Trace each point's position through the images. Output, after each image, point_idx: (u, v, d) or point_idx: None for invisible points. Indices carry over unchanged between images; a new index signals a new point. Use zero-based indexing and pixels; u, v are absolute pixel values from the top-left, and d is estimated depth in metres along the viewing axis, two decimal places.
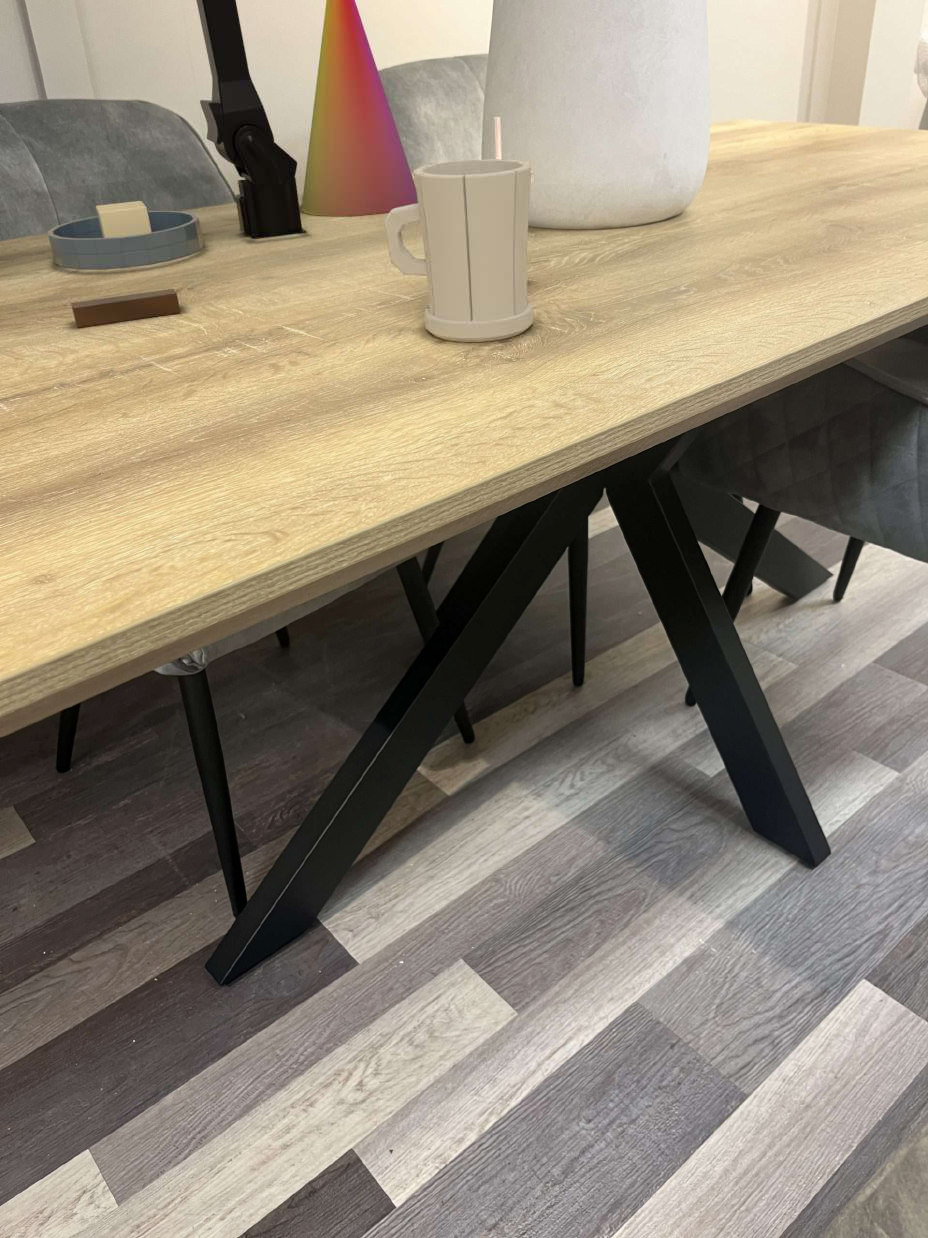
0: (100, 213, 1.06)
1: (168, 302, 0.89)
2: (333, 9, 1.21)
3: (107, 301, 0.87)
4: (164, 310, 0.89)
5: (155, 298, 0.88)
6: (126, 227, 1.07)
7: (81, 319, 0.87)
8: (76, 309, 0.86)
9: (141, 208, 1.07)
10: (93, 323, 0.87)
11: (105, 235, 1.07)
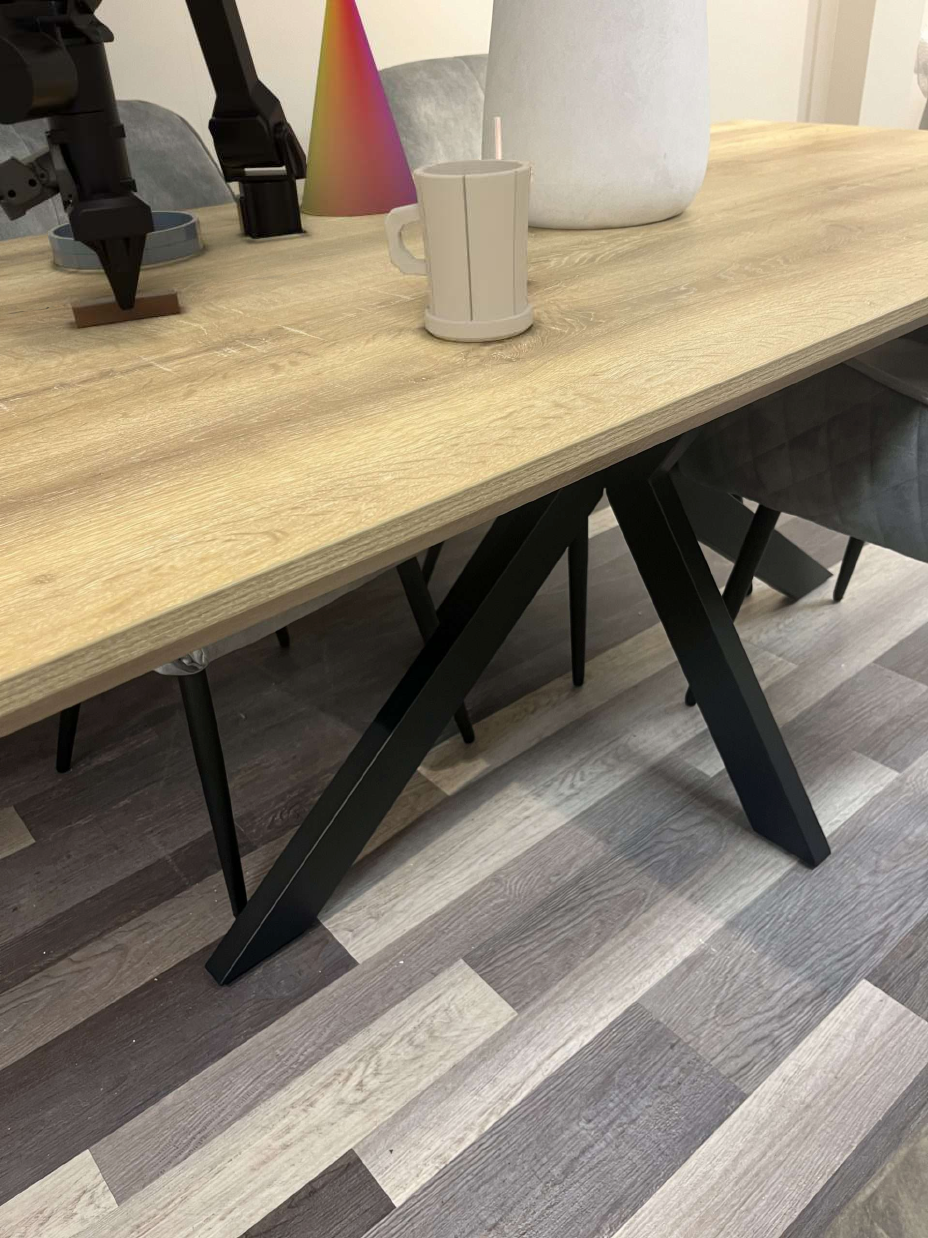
0: None
1: (168, 302, 0.89)
2: (333, 9, 1.21)
3: (107, 301, 0.87)
4: (164, 310, 0.89)
5: (155, 298, 0.88)
6: None
7: (81, 319, 0.87)
8: (76, 309, 0.86)
9: None
10: (93, 323, 0.87)
11: None
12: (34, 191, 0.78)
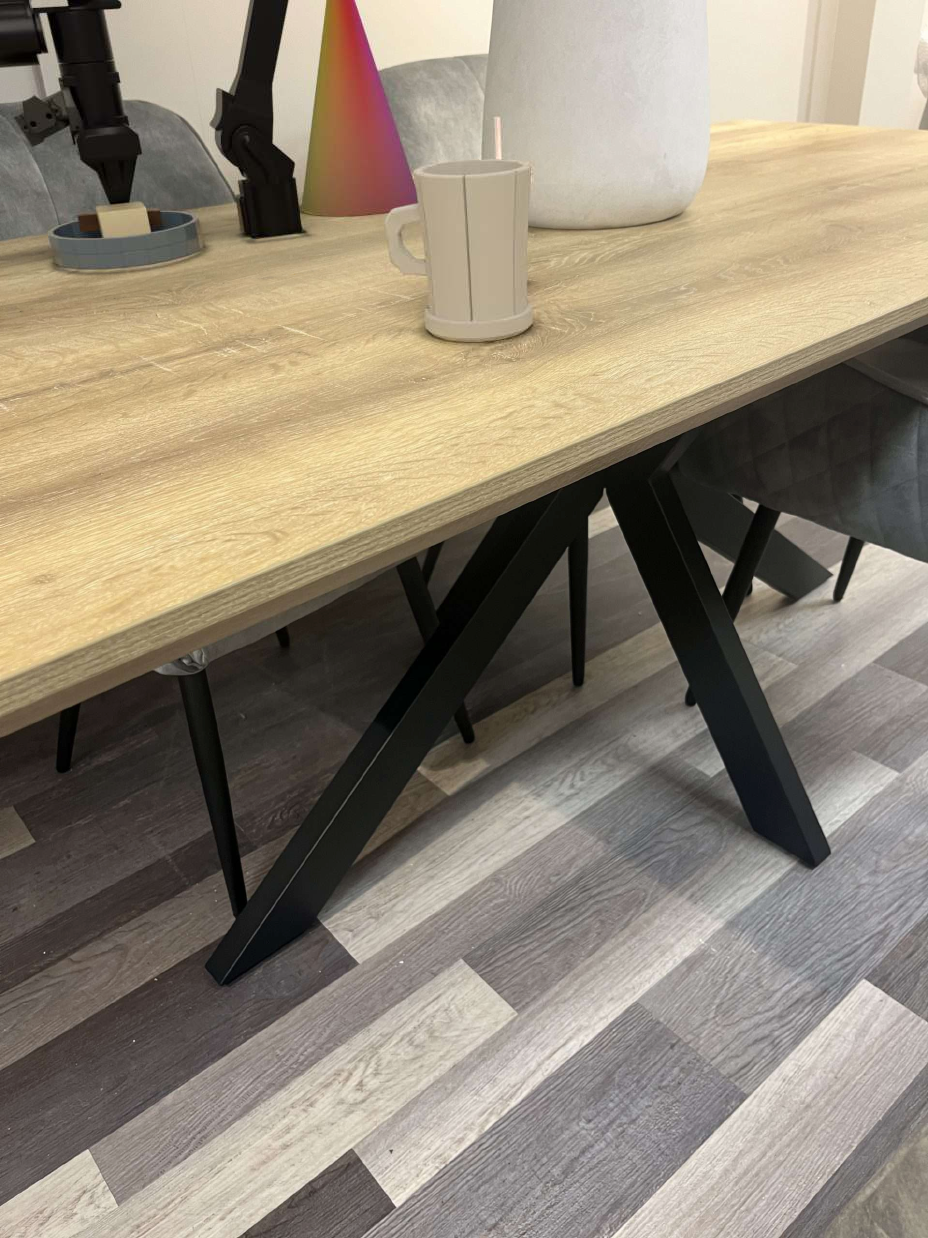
0: (99, 214, 1.06)
1: (153, 217, 1.13)
2: (332, 9, 1.21)
3: None
4: (149, 223, 1.13)
5: None
6: (126, 228, 1.07)
7: (84, 225, 1.11)
8: (80, 216, 1.11)
9: (141, 209, 1.07)
10: (93, 229, 1.12)
11: (104, 236, 1.07)
12: (50, 122, 1.02)
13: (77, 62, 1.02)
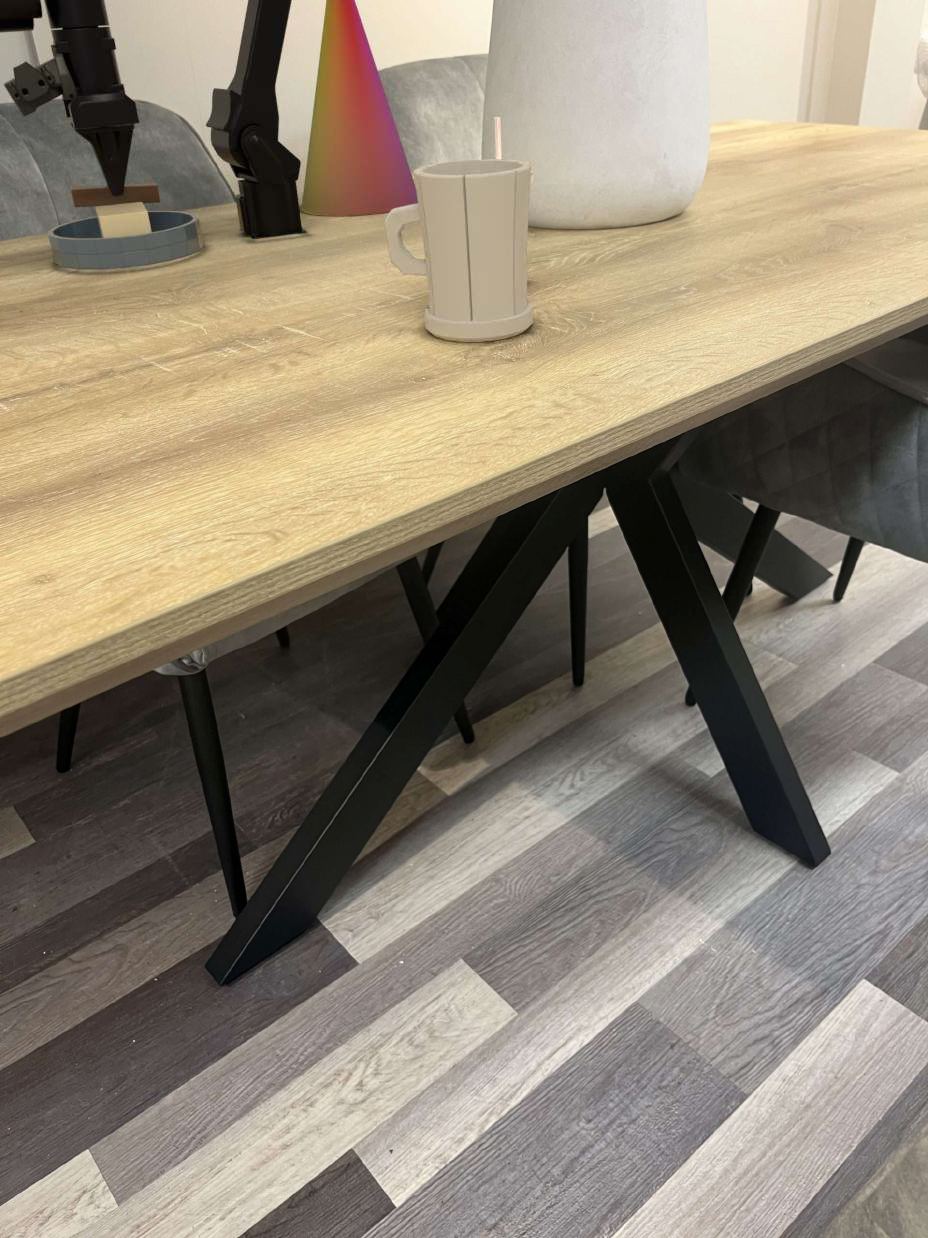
0: (100, 217, 1.04)
1: (150, 192, 1.09)
2: (332, 9, 1.21)
3: (100, 187, 1.07)
4: (147, 199, 1.09)
5: (139, 187, 1.08)
6: (127, 232, 1.05)
7: (78, 200, 1.06)
8: (74, 191, 1.06)
9: (142, 212, 1.05)
10: (88, 204, 1.07)
11: None
12: (43, 90, 0.98)
13: (71, 27, 0.98)
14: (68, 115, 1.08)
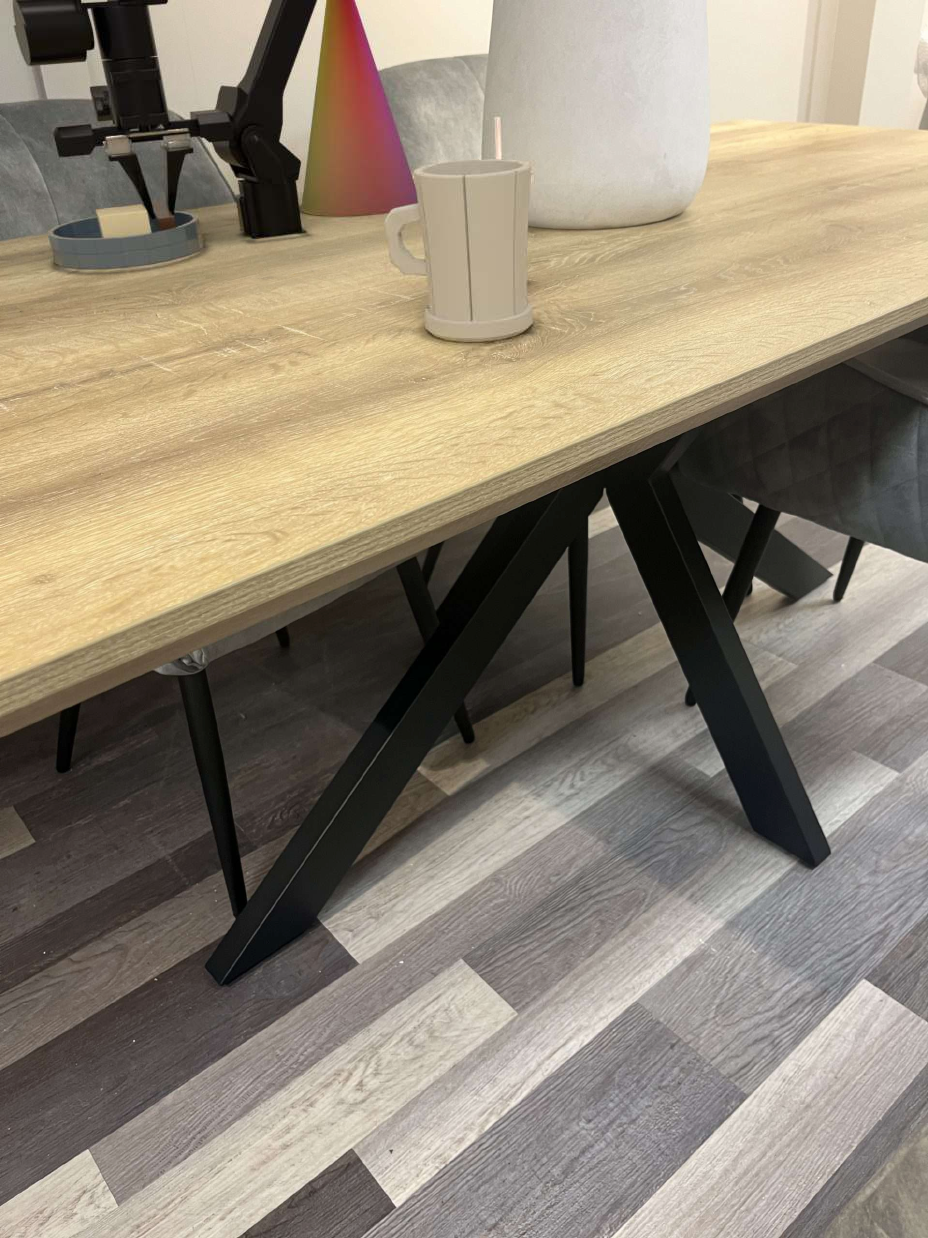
0: (100, 217, 1.04)
1: (158, 224, 1.08)
2: (332, 9, 1.21)
3: (153, 207, 1.12)
4: (158, 229, 1.09)
5: (155, 217, 1.09)
6: (126, 231, 1.05)
7: None
8: None
9: (142, 212, 1.05)
10: (151, 219, 1.14)
11: None
12: (96, 112, 1.09)
13: None
14: (198, 135, 1.12)
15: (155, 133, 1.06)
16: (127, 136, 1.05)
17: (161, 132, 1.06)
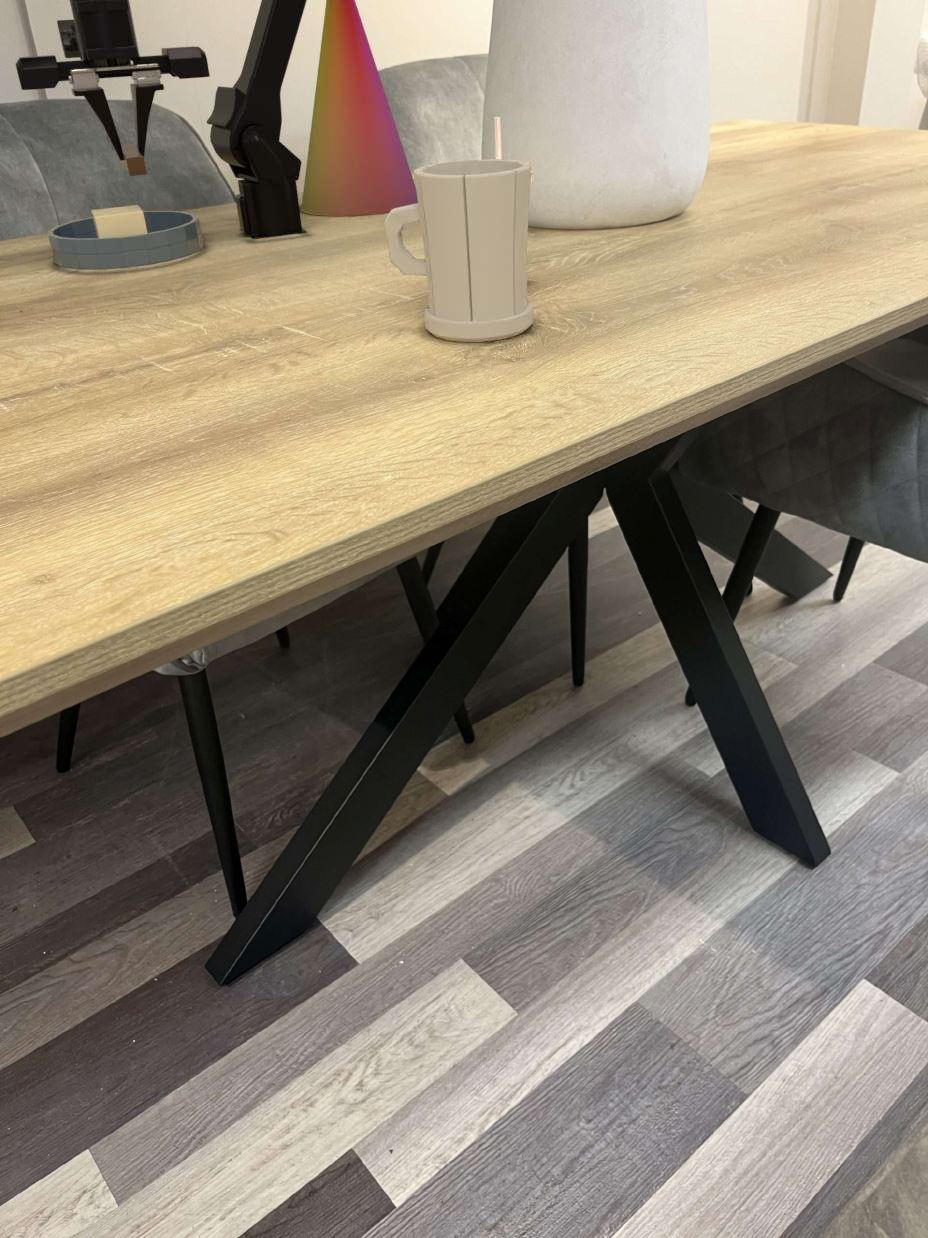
0: (96, 218, 1.04)
1: (126, 164, 1.04)
2: (332, 9, 1.21)
3: (123, 148, 1.08)
4: (127, 169, 1.05)
5: (124, 156, 1.05)
6: (122, 232, 1.05)
7: None
8: None
9: (138, 212, 1.05)
10: (121, 162, 1.10)
11: None
12: (63, 48, 1.04)
13: None
14: (170, 74, 1.07)
15: (123, 68, 1.02)
16: (94, 70, 1.00)
17: (130, 67, 1.02)
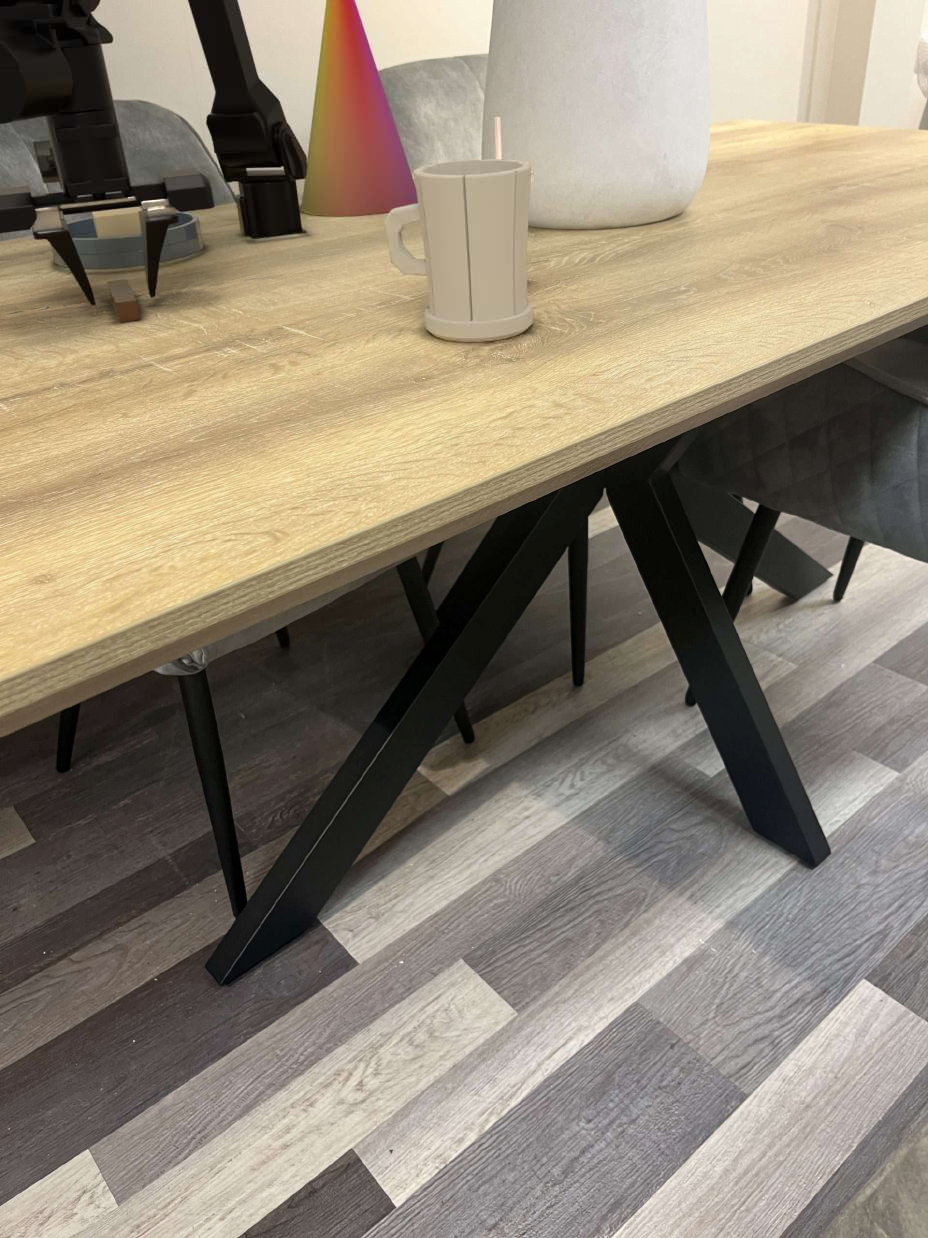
0: (96, 218, 1.04)
1: (116, 308, 0.88)
2: (332, 9, 1.21)
3: (113, 287, 0.92)
4: (117, 314, 0.89)
5: (113, 299, 0.88)
6: (122, 232, 1.05)
7: None
8: (107, 284, 0.94)
9: None
10: None
11: None
12: None
13: None
14: None
15: (112, 201, 0.85)
16: (57, 208, 0.83)
17: (100, 202, 0.85)
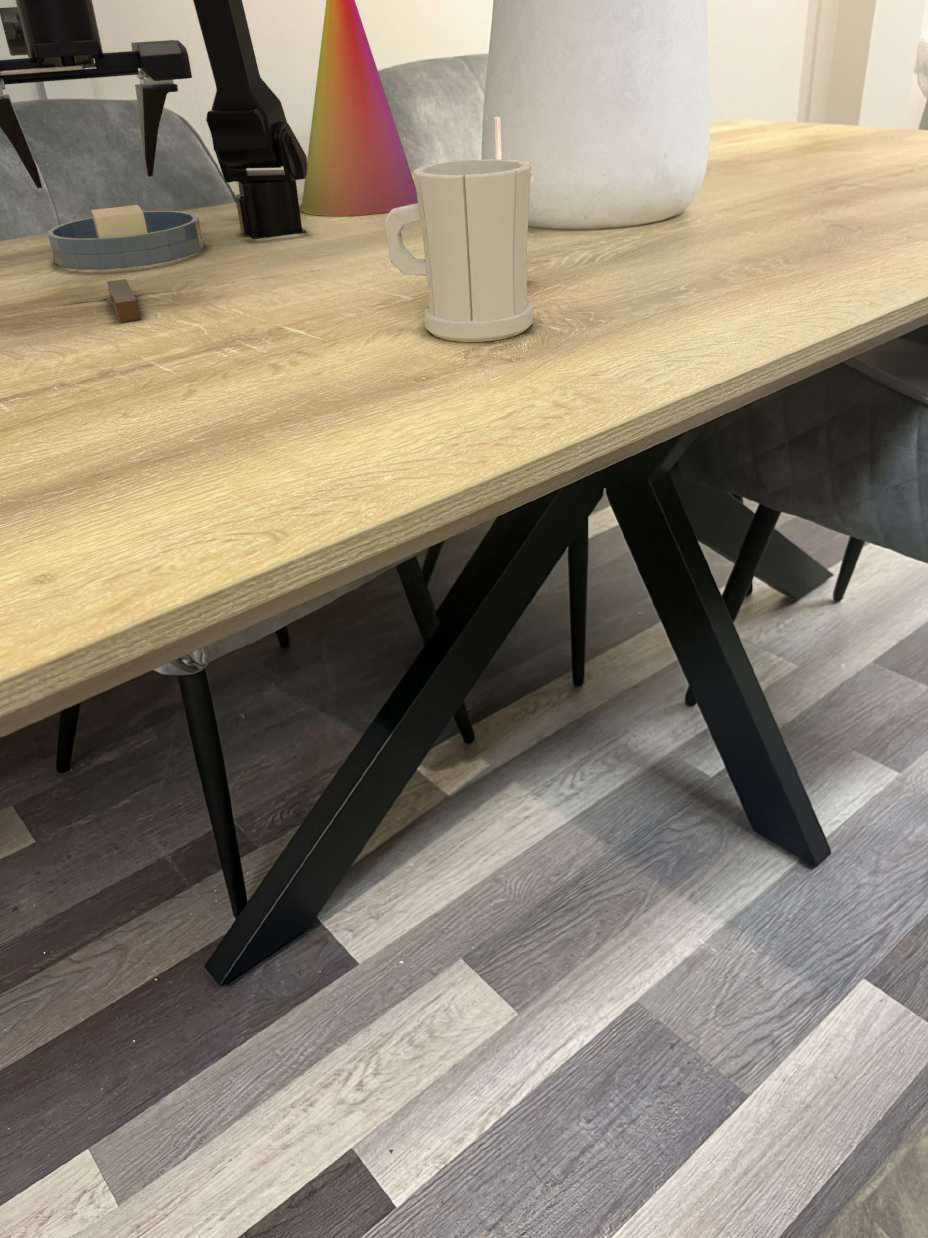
0: (96, 218, 1.04)
1: (116, 308, 0.88)
2: (332, 9, 1.21)
3: (113, 287, 0.92)
4: (117, 314, 0.89)
5: (113, 299, 0.88)
6: (122, 232, 1.05)
7: None
8: (107, 284, 0.94)
9: (138, 212, 1.05)
10: None
11: None
12: (7, 43, 0.83)
13: None
14: None
15: (82, 67, 0.80)
16: None
17: (44, 70, 0.79)
